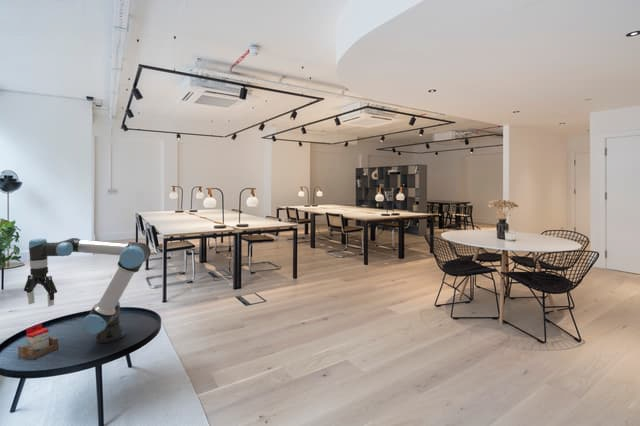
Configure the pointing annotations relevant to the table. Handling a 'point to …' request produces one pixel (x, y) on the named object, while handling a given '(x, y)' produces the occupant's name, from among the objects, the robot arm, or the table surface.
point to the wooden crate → (30, 352)
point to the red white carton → (37, 337)
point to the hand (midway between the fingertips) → (41, 304)
